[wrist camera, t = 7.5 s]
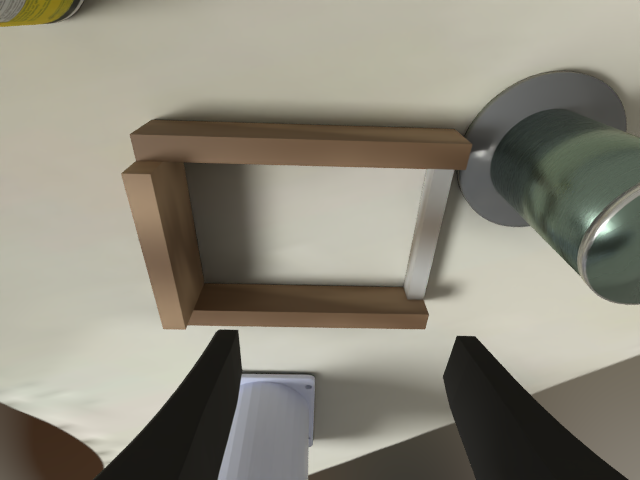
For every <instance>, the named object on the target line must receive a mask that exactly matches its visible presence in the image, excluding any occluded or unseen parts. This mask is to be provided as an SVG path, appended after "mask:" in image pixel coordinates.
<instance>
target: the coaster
mask: <svg viewBox="0 0 640 480" xmlns="http://www.w3.org/2000/svg"><path fill="white" fill-rule="evenodd" d="M548 109H566V110H570V111H573V112H576V113H578V114H581V115H583V116H586V117H588V118H591V119H593V120H596V121H598V122H601V123H604V124H606V125H609V126H611V127H614V128H616V129H619V130H621V131H624V132H626V116H625V110H624V108H623V105H622V102H621V100H620V99H619V97H618V95H617V94H616V93H615V92H614V90H613V89H612V88H611V87H610V86H608V85H607V84H606V83H604V82H603V81H601V80H599V79H597V78H595V77H592V76H589V75H585V74H581V73H577V72H570V71H552V72H546V73H541V74H537V75H534V76H531V77H528V78H526V79H523V80H521V81H519V82H517V83H515V84H513V85H512V86H510V87H508V88H507V89H505V90H504V91H502V92H501V93H500V94H498V95H497V96H496V97H495V98H493V99H492V100H491V101H490V102H489V103H488V104H487V105H486V106H485V107H484V108H483V109H482V110H481V111H480V113H479V114H478V115H477V117H476V118H475V119H474V121H473V122H472V123H471V125H470V127H469V129H468V130H467V132H466V134H465V136H464V138H466V139H467V140H468V141H469V142H470V143H471V144H472V148H471V152H470V156H469V160H468V164H467V168H466V170H457V178H458V183H459V187H460V190H461V192H462V194H463V196H464V198H465V199H466V201H467V202H468V203H469V205H470V206H471V207H472V208H473V209H474V210H475V211H476V212H477V213H478V214H479V215H480V216H482V217H483V218H485V219H487V220H489V221H490V222H493V223H496V224H499V225H504V226H511V227H526V226H530V225H529V224H528V223H527V222H526V221H525V220H524V219H523V218H522V217H521V216H520V215H519V214H518V213H517V212H516V211H515V210H514V209H513V208H512V207H511V206H510V205H509V204H508V203H507V202H506V201H505V200H504V199H503V198H502V197H501V196H500V195H499V194H498V192H497V191H496V190H495V188H494V186H493V184H492V181H491V177H490V165H491V160H492V157H493V154H494V151H495V149H496V147H497V146H498V144H499V142H500V141H501V139H502V138H503V137H504V135H505V134H506V133H507V132H508V131H509V130H510V129H511V128H512V127H513V126H514V125H516V124H517V123H518V122H520V121H521V120H523V119H525V118H526V117H528V116H530V115H532V114H534V113H537V112H540V111H544V110H548Z"/></svg>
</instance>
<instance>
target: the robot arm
mask: <svg viewBox="0 0 640 480" xmlns="http://www.w3.org/2000/svg"><path fill="white" fill-rule="evenodd" d="M443 379H444V383H445V388H446V393H447V397H448V401H449V405H450V409H451V411H452V414H453V417H454V420H455V423H456V425H457V428H458V431H459V434H460V437H461V439H462V442H463V445H464V448H465V450H466V453H467V456H468V459H469V461H470V464H471V467H472V469H473V471H474V475H475V478H476V480H628V479H627V478H626V477H624V476H623V475H622V474H620V473H619V472H618V471H616V470H615V469H614V468H613V467H611V466H610V465H609V464H607V463H606V462H605V461H603V460H602V459H601V458H600V457H599V456H597V455H596V454H595V453H594V452H593V451H591V450H590V449H589V448H588V447H587V446H585V445H584V444H583V443H582V442H581V441H580V440H578V439H577V438H576V437H575V436H573V435H572V434H571V433H570V432H569V431H568V430H567V429H566V428H564V427H563V426H562V425H561V424H560V423H559V422H558V421H557V420H556V419H555V418H554V417H553V416H552V415H551V414H549V413H548V412H547V411H546V410H545V409H544V408H543V407H542V406H541V405H540V404H539V403H538V402H537V401H536V400H535V399H534V398H533V397H532V396H531V395H530V394H529V393H528V392H527V391H526V390H525V389H524V388H523V387H522V386H521V385H520V384H519V383H518V382H517V381H516V380H515V379H514V378H513V377H512V376H511V375H510V373H509V372H508V371H507V370H506V369H505V368H504V367H503V366H502V365H501V364H500V363H499V362H498V361H497V360H496V358H495V357H494V356H493V355H492V354H491V353H490V352H489V351H488V350H487V349H486V348H485V346H484V345H483V344H482V343H481V342H480V341H479V340H478V339H477V338H476V337H475V336H457V337H456V340H455V343H454V346H453V349H452V352H451V355H450V358H449V361H448V363H447V366H446V369H445V372H444V375H443ZM314 398H315V377H314V376H312V375H295V374H242V366H241V355H240V345H239V334H238V330H218V331H217V332H216V333H215V335H214V336H213V338H212V340H211V341H210V343H209V345H208V346H207V348H206V349H205V351H204V352H203V354H202V355H201V357H200V358H199V360H198V361H197V362H196V364H195V365H194V367H193V368H192V369H191V371H190V372H189V374H188V375H187V376H186V378H185V379H184V380H183V382H182V383H181V384H180V386H179V387H178V388H177V390H176V391H175V392H174V393H173V395H172V396H171V397H170V398H169V399H168V401H167V402H166V403H165V404H164V406H163V407H162V408H161V409H160V411H159V412H158V413H157V414H156V415H155V416H154V418H153V419H152V420H151V421H150V422H149V423H148V424H147V425H146V427H145V428H144V429H143V430H142V431H141V432H140V433H139V434H138V435H137V436H136V437H135V438H134V440H133V441H132V442H131V443H130V444H129V445H128V446H127V447H126V448H125V449H124V450H123V451H122V452H121V453H120V454H119V455H118V456H117V457H116V458H115V459H114V460H113V461H112V462H111V463H110V464H109V465H108V466H107V467H106V468H105V469H104V470H102V471H101V473H99V474H98V475H97V476H96V477H95V478H94V479H93V480H308V447H311V446H312V445H313V424H314Z"/></svg>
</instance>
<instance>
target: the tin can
mask: <svg viewBox="0 0 640 480" xmlns="http://www.w3.org/2000/svg"><path fill="white" fill-rule="evenodd" d="M490 177H491V181H492V184H493V186H494V188H495V190H496V191H497V192H498V194H499V195H500V196H501V197H502V198H503V199H504V200H505V201H506V202H507V203H508V204H509V205H510V206H511V207H512V208H513V209H514V210H515V211H516V212H517V213H518V214H519V215H520V216H521V217H522V218H523V219H524V220H525V221H526V222H527V223H528V224H529V225H530V226H531V227H532V228H533V229H534V230H535V231H536V232H537V233H538V234H539V235H540V236H541V237H542V238H543V239H544V240H545V241H546V242H547V243H548V244H549V245H550V246H551V247H552V248H553V249H554V250H555V251H556V252H557V253H558V254H559V255H560V256H561V257H562V258H563V259H564V260H565V261H566V262H567V263H568V264H569V265H570V266H571V267H572V268H573V269H574V270H575V271H576V272H577V273H578V274H579V275H580V276H581V278H582V279H583V281H584V282H585V283H586V284H587V285H588V286H589V287H590V289H591V290H592V291H594V292H595V293H596V294H597V295H598V296H600V297H601V298H603V299H605V300H608V301H610V302H614V303H618V304H626V305H638V304H640V138H639V137H637V136H634V135H631V134H629V133H626V132H624V131H621V130H619V129H616V128H614V127H611V126H609V125H606V124H604V123H601V122H598V121H596V120H593V119H591V118H588V117H586V116H583V115H581V114H578V113H576V112H573V111H570V110H566V109H548V110H544V111H540V112H537V113H534V114H532V115H530V116H528V117H526V118H525V119H523V120H521V121H520V122H518V123H517V124H516V125H514V126H513V127H512V128H511V129H510V130H509V131H508V132H507V133H506V134H505V135H504V137H503V138H502V139H501V141H500V142H499V144H498V146H497V147H496V149H495V151H494V154H493V157H492V160H491V165H490Z"/></svg>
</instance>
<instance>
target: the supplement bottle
mask: <svg viewBox="0 0 640 480" xmlns="http://www.w3.org/2000/svg"><path fill="white" fill-rule="evenodd" d="M83 1H84V0H0V27H5V26H20V25H36V24H49V23H56V22H60V21H63V20H65V19H67V18H69V17H70V16H72V15H73V14H74V13H75V12H76V11H77V10H78V9H79V8H80V6H81V4H82V3H83Z"/></svg>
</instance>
